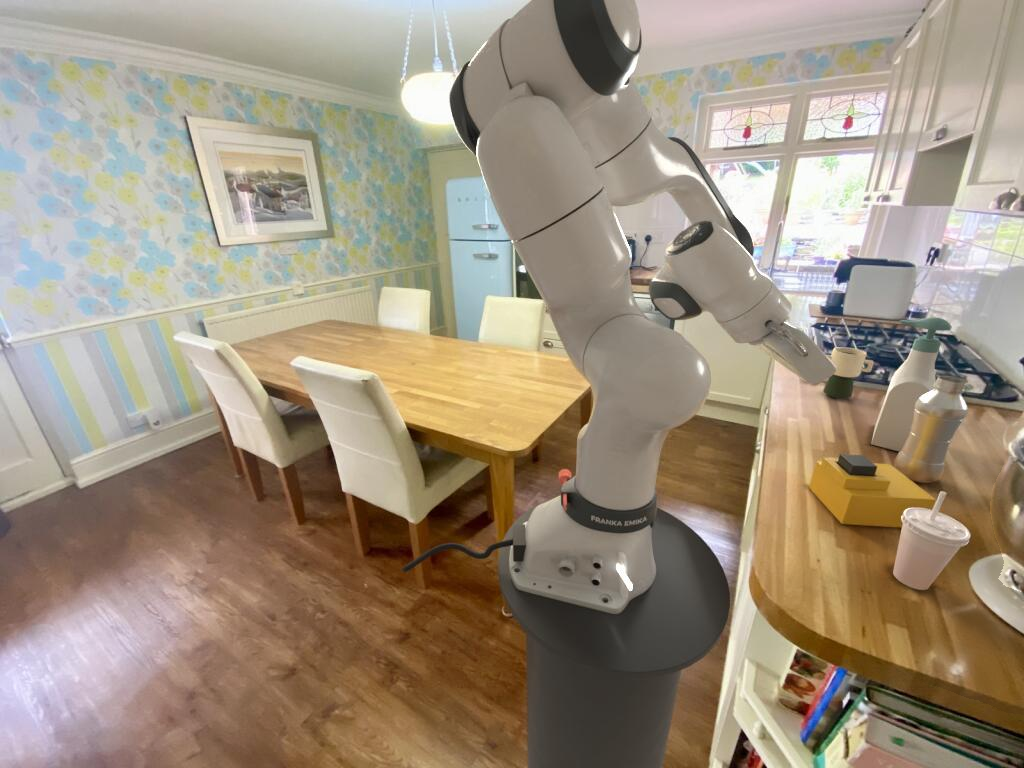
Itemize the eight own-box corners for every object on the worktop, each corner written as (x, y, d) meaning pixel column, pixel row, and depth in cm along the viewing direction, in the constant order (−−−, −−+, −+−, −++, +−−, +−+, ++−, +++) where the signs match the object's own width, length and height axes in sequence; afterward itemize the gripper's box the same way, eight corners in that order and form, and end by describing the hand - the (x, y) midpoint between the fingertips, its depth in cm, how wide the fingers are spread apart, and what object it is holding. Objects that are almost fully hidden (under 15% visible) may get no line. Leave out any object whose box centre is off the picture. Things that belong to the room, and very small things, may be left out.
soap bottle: (865, 424, 98) (903, 309, 88) (911, 435, 93) (958, 314, 83) (860, 442, 91) (901, 319, 81) (910, 455, 86) (961, 325, 76)
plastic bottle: (942, 491, 75) (987, 389, 67) (893, 480, 78) (931, 381, 71) (932, 473, 80) (974, 376, 72) (887, 464, 83) (922, 370, 76)
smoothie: (904, 557, 61) (939, 477, 56) (956, 593, 55) (1000, 507, 50) (868, 565, 60) (901, 484, 54) (917, 603, 54) (959, 515, 49)
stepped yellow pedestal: (839, 524, 68) (853, 485, 65) (807, 487, 77) (817, 451, 74) (923, 529, 66) (940, 489, 63) (879, 490, 75) (893, 455, 73)
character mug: (860, 395, 114) (874, 350, 109) (862, 405, 108) (878, 357, 103) (812, 388, 119) (824, 344, 114) (812, 396, 114) (824, 351, 109)
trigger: (849, 476, 68) (853, 465, 67) (836, 464, 71) (839, 453, 70) (873, 477, 67) (877, 466, 67) (859, 465, 71) (862, 454, 70)
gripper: (811, 315, 51) (875, 391, 53) (746, 288, 70) (795, 345, 72) (765, 349, 53) (828, 420, 56) (714, 314, 72) (763, 368, 74)
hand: (809, 377), depth 64 cm, fingers closed
